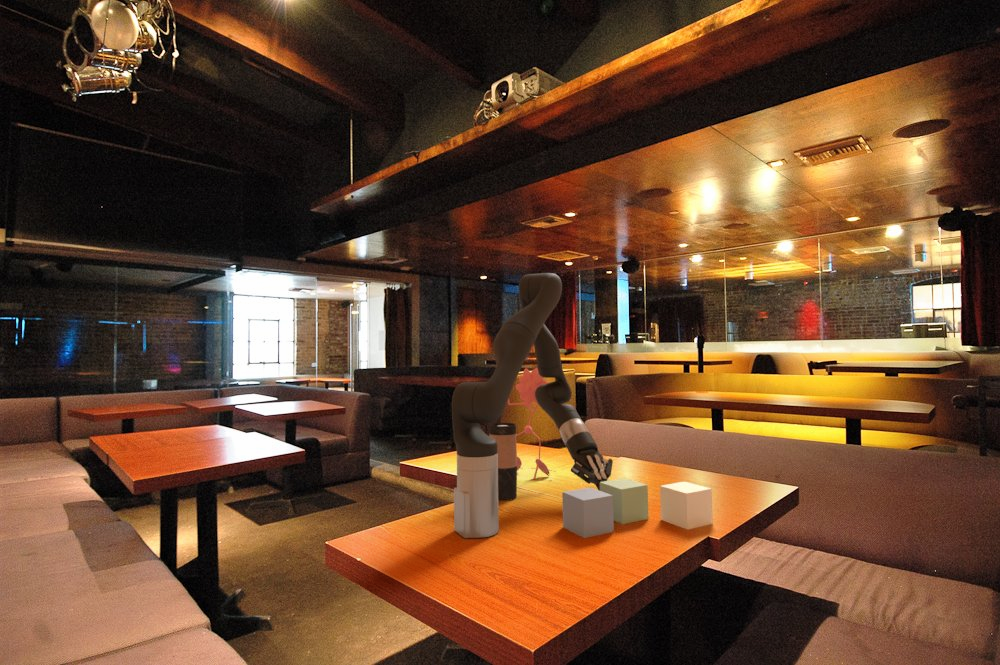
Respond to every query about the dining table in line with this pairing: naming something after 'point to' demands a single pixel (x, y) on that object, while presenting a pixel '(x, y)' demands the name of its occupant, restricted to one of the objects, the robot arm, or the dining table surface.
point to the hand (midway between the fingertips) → (607, 494)
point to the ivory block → (686, 505)
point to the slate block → (588, 512)
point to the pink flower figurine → (527, 391)
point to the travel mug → (506, 459)
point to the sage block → (627, 499)
